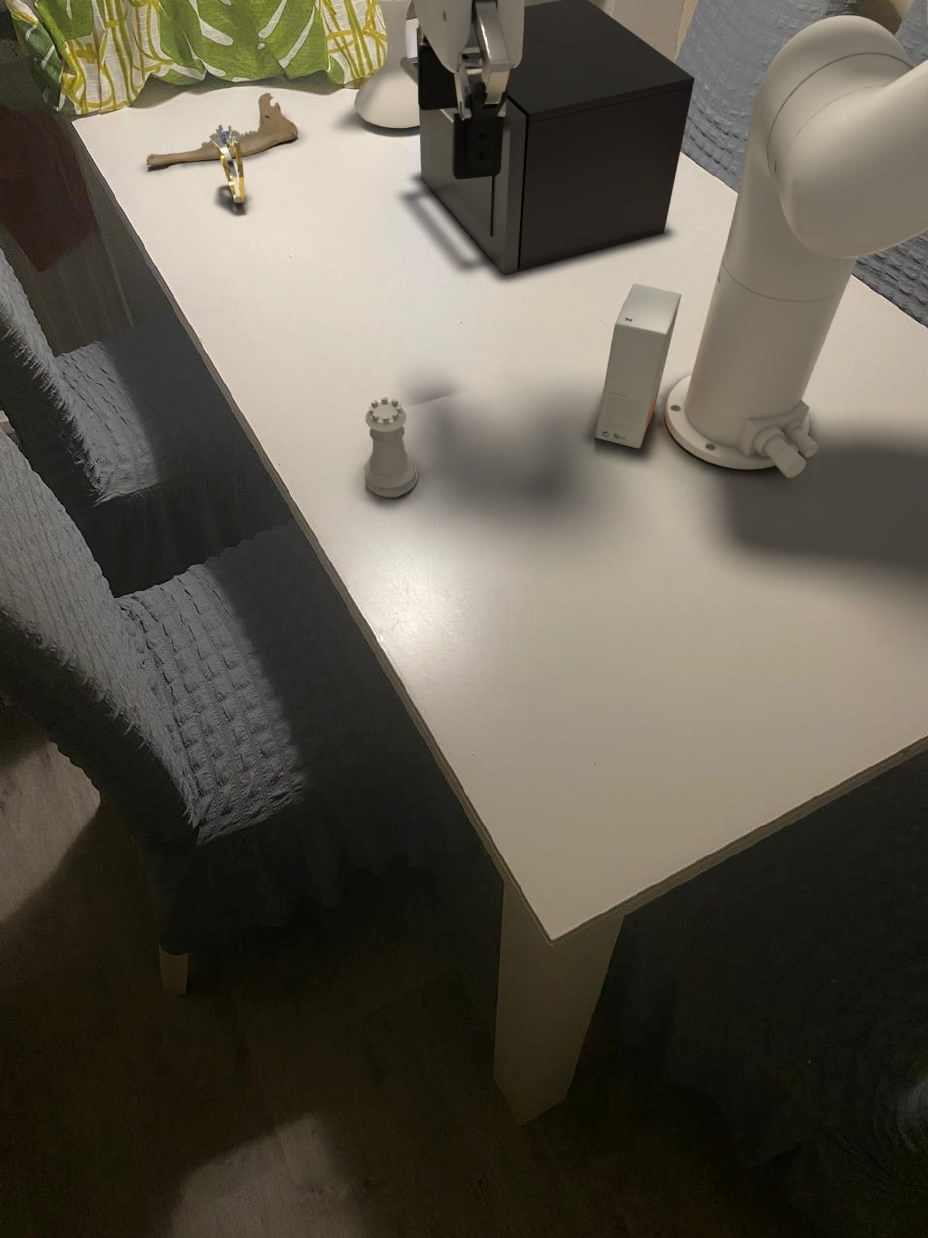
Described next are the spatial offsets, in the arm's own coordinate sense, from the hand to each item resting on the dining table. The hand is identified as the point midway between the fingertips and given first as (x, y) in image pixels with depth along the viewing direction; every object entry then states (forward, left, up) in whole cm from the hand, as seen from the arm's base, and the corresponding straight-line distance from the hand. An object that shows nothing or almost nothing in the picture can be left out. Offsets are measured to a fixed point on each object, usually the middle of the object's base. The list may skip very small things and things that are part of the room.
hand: (457, 139), depth 62 cm
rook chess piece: (-6, +9, -24) cm, 27 cm away
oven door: (+28, -12, -24) cm, 39 cm away
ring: (+43, +8, -24) cm, 50 cm away
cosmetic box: (-8, -13, -24) cm, 29 cm away
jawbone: (+58, +6, -24) cm, 63 cm away
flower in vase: (+54, -16, -24) cm, 62 cm away
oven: (+28, -24, -24) cm, 44 cm away
